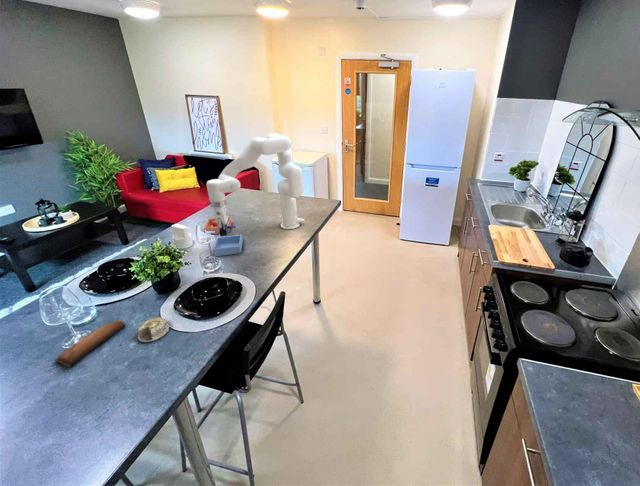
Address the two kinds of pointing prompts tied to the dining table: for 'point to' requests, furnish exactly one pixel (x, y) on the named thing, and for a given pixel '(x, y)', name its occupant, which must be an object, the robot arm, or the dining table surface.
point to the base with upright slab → (182, 236)
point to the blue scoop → (227, 228)
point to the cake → (152, 329)
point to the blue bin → (228, 245)
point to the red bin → (210, 227)
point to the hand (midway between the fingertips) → (224, 233)
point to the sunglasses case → (88, 343)
